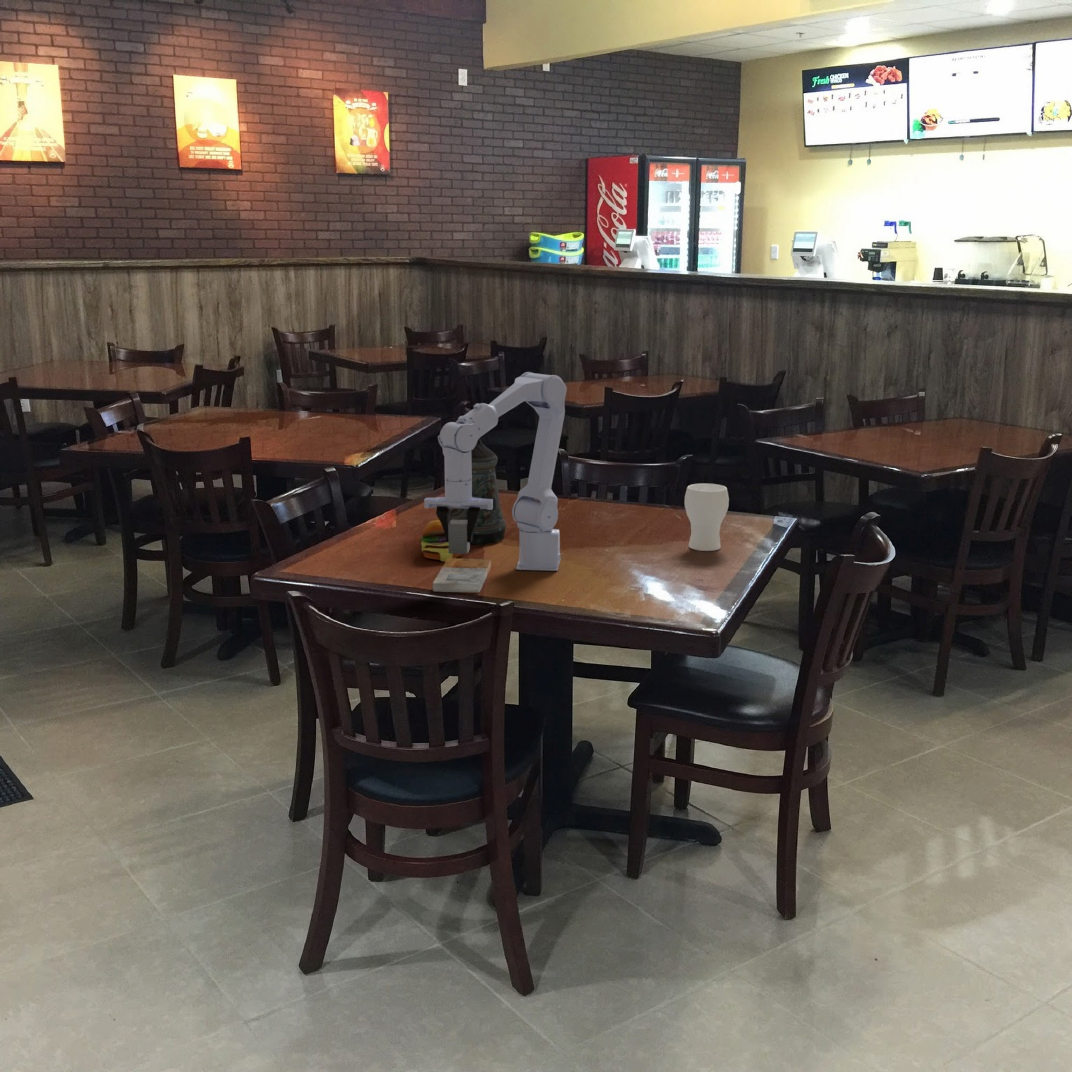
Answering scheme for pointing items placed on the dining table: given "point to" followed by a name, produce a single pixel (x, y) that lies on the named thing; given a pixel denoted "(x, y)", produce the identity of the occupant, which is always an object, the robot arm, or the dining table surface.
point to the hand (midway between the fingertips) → (459, 541)
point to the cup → (706, 514)
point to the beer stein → (484, 486)
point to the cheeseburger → (435, 542)
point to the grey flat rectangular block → (462, 575)
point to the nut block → (458, 537)
